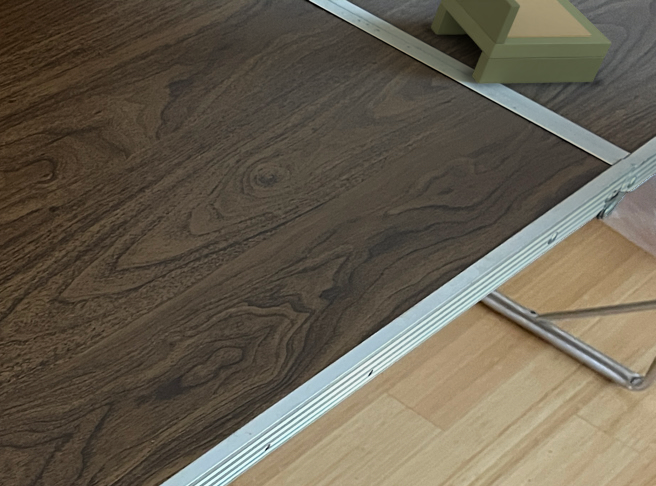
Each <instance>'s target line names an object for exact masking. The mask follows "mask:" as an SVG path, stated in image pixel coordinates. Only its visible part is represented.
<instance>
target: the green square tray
mask: <svg viewBox="0 0 656 486" xmlns="http://www.w3.org/2000/svg"><path fill="white" fill-rule="evenodd" d="M430 29H431V30H432V31H433V32H434V33H435V34H436V35H437V36H438V35H468V36H469V37H470V39H472V41H473V42H474V43H475V44H476V45H477V46H478V48H479V49H480V50H481V51H482V52H481V53H480V56H479V58H478V60H477V62H476V65H475V68H474V70H473V73H472V75H471V76H472V78H473V80H474V81H475V82H476V83H477V84H479V85H481V84H482V85H483V84H484V85H485V84H487V85H489V84H540V83H541V84H542V83H543V84H544V83H545V84H546V83H548V84H549V83H550V84H551V83H593V82H594V80H595V78H596V76H597V74H598V71H599V69H600V67H601V65H602V64H603V61H604V59H605V57H606V55H607V54H608V51H609V49H610V47H611V46H612V41H610V39H609V38H608V37H606V35H605V34H604V33H602V31H600V29H599V28H597V27H596V26H595V25H594V24H593V22H591V21H590V20H589V19H588V18H587V17H586V16H585V15H584V14H583V13H582V12H581V11H580V10H579V9H578V8H577V7H576V5H574V4H573V3H572V2H571V1H570V0H440V3H439V4H438V6H437V10H436V12H435V15H434V17H433V20H432V23H431V25H430Z"/></svg>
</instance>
